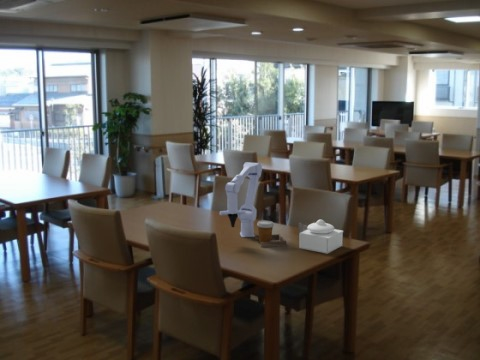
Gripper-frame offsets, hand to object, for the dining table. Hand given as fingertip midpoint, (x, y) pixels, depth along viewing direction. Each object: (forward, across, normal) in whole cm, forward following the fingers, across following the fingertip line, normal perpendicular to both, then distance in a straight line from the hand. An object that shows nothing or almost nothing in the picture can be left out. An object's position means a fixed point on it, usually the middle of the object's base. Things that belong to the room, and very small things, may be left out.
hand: (232, 226), depth 312 cm
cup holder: (+9, +21, -4) cm, 23 cm away
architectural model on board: (+10, +45, +4) cm, 46 cm away
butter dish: (+10, +47, -18) cm, 51 cm away
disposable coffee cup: (+10, +18, -4) cm, 21 cm away
